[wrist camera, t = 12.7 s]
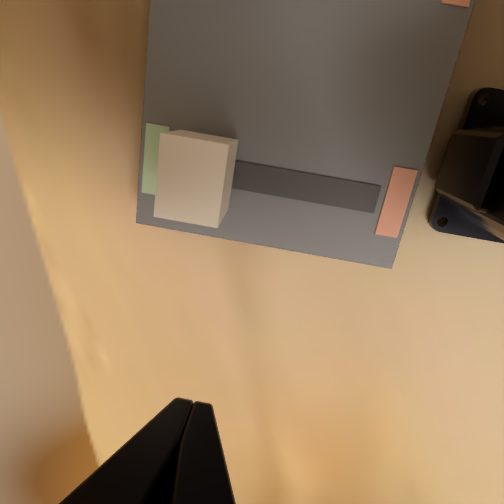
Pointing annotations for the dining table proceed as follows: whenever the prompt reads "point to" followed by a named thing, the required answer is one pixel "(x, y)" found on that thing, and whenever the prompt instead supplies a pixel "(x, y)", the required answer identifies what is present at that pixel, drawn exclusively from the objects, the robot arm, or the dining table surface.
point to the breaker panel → (304, 113)
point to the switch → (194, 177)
